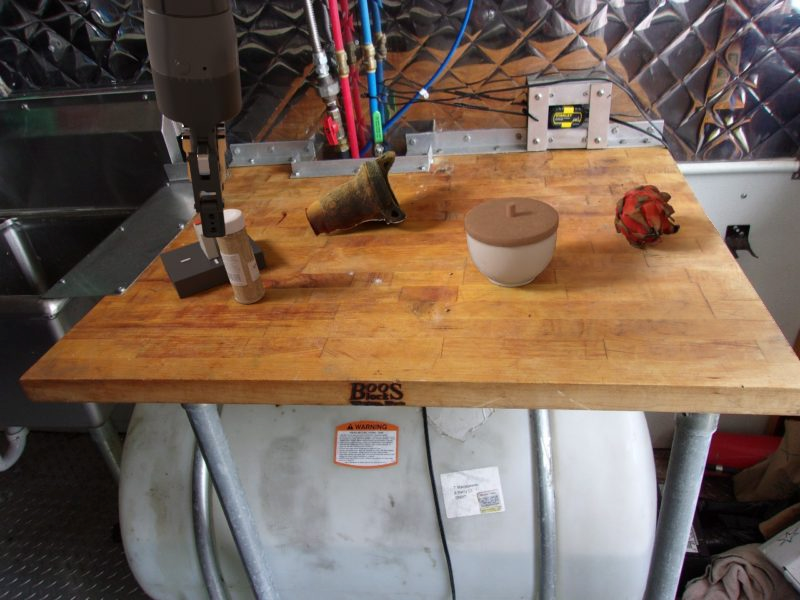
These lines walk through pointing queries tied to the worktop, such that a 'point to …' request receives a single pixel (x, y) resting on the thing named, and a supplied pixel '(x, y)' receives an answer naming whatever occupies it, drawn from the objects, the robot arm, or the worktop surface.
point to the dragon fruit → (644, 216)
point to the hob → (200, 267)
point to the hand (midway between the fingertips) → (214, 212)
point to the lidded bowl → (511, 239)
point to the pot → (358, 200)
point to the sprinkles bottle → (240, 259)
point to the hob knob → (205, 242)
